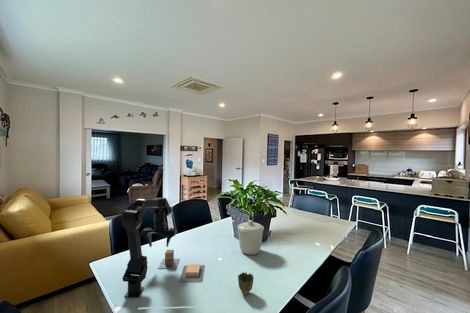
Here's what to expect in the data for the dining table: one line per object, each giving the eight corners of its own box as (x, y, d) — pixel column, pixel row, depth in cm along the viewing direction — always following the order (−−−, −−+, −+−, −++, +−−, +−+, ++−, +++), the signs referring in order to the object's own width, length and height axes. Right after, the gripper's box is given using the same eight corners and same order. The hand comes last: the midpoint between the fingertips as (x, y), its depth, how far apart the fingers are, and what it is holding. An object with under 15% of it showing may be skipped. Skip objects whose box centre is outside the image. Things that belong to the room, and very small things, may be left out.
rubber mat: (202, 283, 105) (202, 282, 105) (178, 283, 104) (178, 282, 104) (204, 266, 121) (204, 265, 121) (184, 266, 120) (184, 265, 120)
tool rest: (176, 269, 117) (176, 267, 117) (157, 269, 116) (157, 268, 116) (179, 260, 127) (179, 258, 127) (162, 260, 126) (162, 258, 126)
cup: (235, 296, 96) (235, 279, 96) (240, 286, 103) (240, 270, 103) (250, 300, 94) (251, 282, 93) (255, 290, 100) (255, 274, 100)
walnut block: (171, 264, 120) (172, 252, 120) (164, 265, 120) (165, 252, 119) (173, 261, 124) (173, 249, 124) (166, 261, 124) (167, 249, 123)
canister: (267, 257, 133) (267, 224, 133) (239, 258, 130) (240, 225, 130) (259, 244, 151) (259, 215, 151) (234, 246, 148) (235, 216, 148)
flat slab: (198, 272, 110) (200, 264, 118) (185, 272, 109) (187, 264, 117) (198, 276, 110) (200, 268, 118) (185, 276, 109) (187, 268, 117)
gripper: (179, 215, 127) (178, 241, 127) (148, 215, 126) (147, 241, 127) (174, 221, 116) (174, 249, 116) (140, 221, 115) (140, 249, 115)
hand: (159, 246), depth 119 cm, fingers open, 9 cm apart
